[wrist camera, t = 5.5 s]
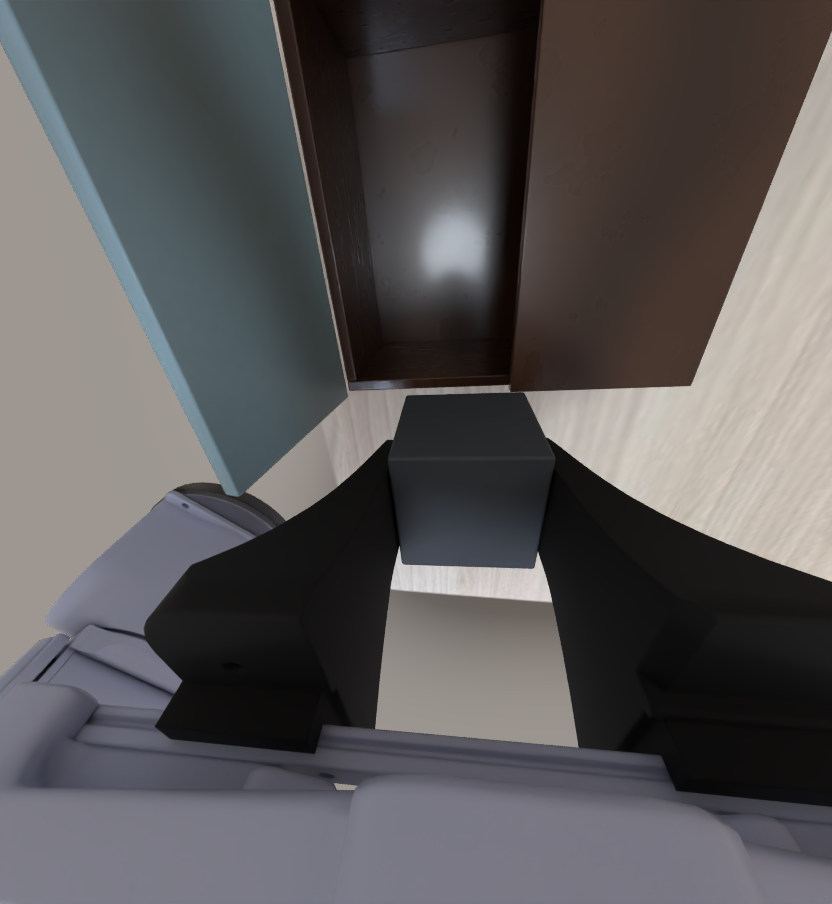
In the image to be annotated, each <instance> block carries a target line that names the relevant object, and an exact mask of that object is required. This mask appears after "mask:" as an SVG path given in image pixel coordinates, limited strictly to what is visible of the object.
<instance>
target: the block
mask: <svg viewBox="0 0 832 904" xmlns="http://www.w3.org/2000/svg"><path fill="white" fill-rule="evenodd" d="M554 464H555V456H554V454H553V452H552V450H551V448H550V445H549V443H548V441H547V439H546V437H545V435H544V433H543V431H542V429H541V427H540V425H539V423H538V421H537V418H536V416H535V414H534V412H533V410H532V408H531V406H530V404H529V402H528V400H527V398H526V396H525V394H524V393H523V392H517V393H481V394H445V395H410V396H406V399H405V403H404V406H403V409H402V413H401V416H400V420H399V423H398V426H397V430H396V433H395V437H394V440H393V443H392V447H391V450H390V454H389V457H388V466H389V473H390V480H391V487H392V495H393V502H394V509H395V516H396V523H397V531H398V538H399V545H400V552H401V559H402V563H403V564H405V565H433V566H465V567H496V568H528V569H532V568H534V567H535V562H536V557H537V552H538V547H539V542H540V536H541V531H542V526H543V521H544V516H545V511H546V505H547V500H548V495H549V490H550V485H551V480H552V475H553V469H554Z"/></svg>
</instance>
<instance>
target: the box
mask: <svg viewBox="0 0 832 904" xmlns="http://www.w3.org/2000/svg"><path fill="white" fill-rule="evenodd" d="M273 1H274V6H275V11H276V16H277V21H278V26H279V31H280V37H281V42H282V47H283V52H284V57H285V62H286V67H287V73H288V78H289V83H290V88H291V93H292V98H293V103H294V109H295V114H296V119H297V124H298V129H299V134H300V139H301V145H302V150H303V155H304V160H305V165H306V170H307V175H308V181H309V186H310V191H311V196H312V201H313V206H314V211H315V217H316V222H317V227H318V232H319V237H320V242H321V247H322V253H323V258H324V263H325V268H326V273H327V278H328V284H329V289H330V294H331V299H332V304H333V309H334V314H335V320H336V325H337V330H338V335H339V340H340V345H341V350H342V356H343V361H344V366H345V371H346V376H347V380H348V386H349V390H350V391H355V390H383V389H410V388H437V387H465V386H492V385H509V390H510V392H526V391H555V390H585V389H614V388H644V387H673V386H691V384H692V382H693V379H694V377H695V374H696V372H697V369H698V367H699V364H700V362H701V359H702V357H703V354H704V352H705V349H706V346H707V344H708V341H709V339H710V336H711V334H712V331H713V329H714V326H715V324H716V321H717V319H718V316H719V314H720V311H721V309H722V306H723V304H724V301H725V299H726V296H727V294H728V291H729V289H730V286H731V283H732V281H733V278H734V276H735V273H736V271H737V268H738V266H739V263H740V261H741V258H742V256H743V253H744V251H745V248H746V246H747V243H748V241H749V238H750V236H751V233H752V231H753V228H754V226H755V223H756V220H757V218H758V215H759V213H760V210H761V208H762V205H763V203H764V200H765V198H766V195H767V193H768V190H769V188H770V185H771V183H772V180H773V178H774V175H775V173H776V170H777V168H778V165H779V163H780V160H781V157H782V155H783V152H784V150H785V147H786V145H787V142H788V140H789V137H790V135H791V132H792V130H793V127H794V125H795V122H796V120H797V117H798V115H799V112H800V110H801V107H802V105H803V102H804V100H805V97H806V94H807V92H808V89H809V87H810V84H811V82H812V79H813V77H814V74H815V72H816V69H817V67H818V64H819V62H820V59H821V57H822V54H823V52H824V49H825V47H826V44H827V42H828V39H829V36H830V34H831V31H832V0H273Z"/></svg>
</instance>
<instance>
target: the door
mask: <svg viewBox="0 0 832 904" xmlns="http://www.w3.org/2000/svg"><path fill="white" fill-rule="evenodd" d="M0 42H1V45H2V47H3V49H4V51H5V53H6V55H7V57H8V59H9V61H10V62H11V65H12V66H13V69H14V71H15V73H16V75H17V77H18V79H19V81H20V83H21V85H22V87H23V89H24V90H25V93H26V95H27V97H28V99H29V101H30V103H31V104H32V107H33V109H34V111H35V113H36V115H37V117H38V119H39V121H40V123H41V125H42V127H43V129H44V130H45V133H46V135H47V136H48V139H49V141H50V143H51V145H52V147H53V149H54V151H55V153H56V155H57V157H58V158H59V161H60V163H61V165H62V167H63V169H64V171H65V173H66V175H67V177H68V179H69V181H70V183H71V185H72V187H73V189H74V191H75V193H76V195H77V197H78V199H79V201H80V203H81V205H82V207H83V209H84V211H85V213H86V215H87V217H88V219H89V221H90V223H91V225H92V227H93V229H94V231H95V233H96V235H97V237H98V239H99V241H100V243H101V245H102V247H103V249H104V251H105V253H106V255H107V257H108V259H109V261H110V263H111V265H112V267H113V269H114V271H115V273H116V275H117V277H118V279H119V281H120V283H121V285H122V287H123V289H124V291H125V293H126V295H127V297H128V299H129V301H130V303H131V305H132V307H133V309H134V311H135V313H136V315H137V317H138V319H139V321H140V323H141V325H142V327H143V329H144V331H145V333H146V335H147V337H148V339H149V341H150V343H151V345H152V347H153V349H154V351H155V353H156V355H157V357H158V359H159V361H160V363H161V365H162V367H163V369H164V371H165V373H166V375H167V377H168V379H169V381H170V383H171V385H172V387H173V389H174V391H175V393H176V395H177V397H178V399H179V401H180V403H181V405H182V407H183V409H184V411H185V413H186V415H187V417H188V419H189V421H190V423H191V425H192V427H193V429H194V431H195V433H196V435H197V437H198V439H199V441H200V443H201V445H202V447H203V449H204V451H205V453H206V455H207V457H208V459H209V461H210V463H211V465H212V467H213V469H214V471H215V473H216V475H217V477H218V479H219V481H220V483H221V485H222V487H223V489H224V491H225V493H226V494H227V495H230V496H237V497H239V496H241V495H242V494H243V493H244V492H245V491H246V490H247V489H249V488H250V487H251V486H252V485H253V484H254V483H255V482H256V481H257V480H258V479H259V478H260V477H262V476H263V475H264V474H265V473H266V472H267V471H268V470H269V469H270V468H271V467H272V466H273V465H274V464H275V463H277V462H278V461H279V460H280V459H281V458H282V457H283V456H284V455H285V454H286V453H287V452H289V451H290V450H291V449H292V448H293V447H294V446H295V445H296V444H297V443H298V442H299V441H300V440H302V439H303V438H304V437H305V436H306V435H307V434H308V433H309V432H310V431H311V430H313V429H314V428H315V427H316V426H317V425H318V424H319V423H320V422H321V421H322V420H323V419H324V418H326V417H327V416H328V415H329V414H330V413H331V412H332V411H333V410H334V409H335V408H336V407H337V406H339V405H340V404H341V403H342V402H343V401H344V400H345V399H346V398H347V397H348V395H347V390H346V385H345V380H344V375H343V370H342V365H341V360H340V355H339V349H338V344H337V339H336V334H335V329H334V324H333V319H332V314H331V309H330V304H329V299H328V294H327V289H326V284H325V279H324V274H323V269H322V264H321V259H320V254H319V249H318V244H317V239H316V234H315V229H314V224H313V219H312V214H311V209H310V204H309V199H308V194H307V189H306V184H305V179H304V174H303V169H302V164H301V159H300V153H299V148H298V143H297V138H296V133H295V128H294V123H293V118H292V113H291V108H290V103H289V98H288V93H287V88H286V83H285V78H284V73H283V68H282V63H281V58H280V53H279V48H278V43H277V38H276V33H275V28H274V23H273V18H272V13H271V8H270V3H269V0H0Z"/></svg>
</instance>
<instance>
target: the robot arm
mask: <svg viewBox="0 0 832 904" xmlns="http://www.w3.org/2000/svg"><path fill="white" fill-rule="evenodd" d="M546 439H547V441H548V443H549V445H550V448H551V450H552V452H553V454H554V456H555V464H554V469H553V475H552V480H551V485H550V490H549V495H548V500H547V505H546V511H545V516H544V521H543V526H542V531H541V536H540V542H539V547H538V553H539V556H540V559H541V562H542V565H543V568H544V571H545V574H546V578H547V581H548V585H549V588H550V593H551V598H552V602H553V607H554V611H555V616H556V621H557V626H558V631H559V636H560V641H561V646H562V651H563V657H564V662H565V668H566V673H567V679H568V684H569V689H570V696H571V702H572V708H573V714H574V720H575V727H576V733H577V739H578V746H579V748H576V747H565V746H555V745H554V746H553V745H543V744H532V743H522V742H510V741H500V740H488V739H478V738H467V737H456V736H444V735H434V734H423V733H412V732H411V733H410V732H401V731H390V730H379V729H375V724H376V712H377V702H378V691H379V681H380V670H381V662H382V652H383V644H384V634H385V627H386V618H387V610H388V603H389V595H390V587H391V581H392V575H393V570H394V566H395V562H396V557H397V553H398V549H399V538H398V531H397V523H396V516H395V509H394V502H393V495H392V487H391V480H390V473H389V466H388V457H389V454H390V450H391V447H392V443H393V440H386V441H385V442H384V443H383V444H382V445H381V446H380V447H379V448H378V449H377V450H376V451H375V453H374V454H373V455H372V456H371V457H370V458H369V459H368V460H367V461H366V462H365V463H364V464H363V465H362V466H360V467H359V468H358V469H357V470H356V471H355V472H354V473H353V474H352V475H351V476H350V477H348V478H347V479H346V480H345V481H344V482H343V483H342V484H340V485H339V486H338V487H337V488H336V489H334V490H333V491H332V492H330V493H329V494H328V495H326V496H325V497H324V498H322V499H321V500H319V501H318V502H317V503H315V504H314V505H312V506H311V507H309V508H308V509H306V510H304V511H303V512H301V513H299V514H298V515H296V516H294V517H293V518H291V519H289V520H288V521H286V522H284V523H283V524H281V525H279V526H277V527H275V528H273V529H271V530H269V531H267V532H265V533H264V534H261V535H259V536H255V535H254V534H252V533H250V532H248V531H247V530H245V529H243V528H241V527H239V526H238V525H236V524H234V523H232V522H230V521H229V520H227V519H225V518H223V517H222V516H220V515H218V514H216V513H214V512H213V511H211V510H209V509H207V508H206V507H204V506H202V505H200V504H198V503H197V502H195V501H193V500H191V499H190V498H188V497H186V496H184V495H182V494H181V493H179V492H177V491H170V492H169V493H167V494H166V496H165V498H164V500H162V501H161V502H160V503H159V504H158V505H157V506H156V507H155V508H153V509H152V510H151V511H150V512H149V513H148V514H147V515H146V516H144V517H143V518H142V519H141V520H140V521H139V522H138V523H137V524H136V525H134V526H133V527H132V528H131V529H130V530H129V531H128V532H127V533H125V534H124V535H123V536H122V537H121V538H120V539H119V540H118V541H117V542H115V543H114V544H113V545H112V546H111V547H110V548H109V549H107V550H106V551H105V552H104V553H103V554H102V555H101V556H100V557H99V558H97V559H96V560H95V561H94V562H93V563H92V564H91V565H90V566H89V567H88V568H87V569H86V570H85V571H84V572H83V573H82V574H81V575H80V576H79V577H78V578H77V579H76V580H75V581H74V582H73V583H72V584H71V586H70V587H69V588H68V589H67V590H66V591H65V592H64V593H63V594H62V596H61V597H60V598H59V599H58V600H57V602H56V603H55V604H54V606H53V607H52V608H51V610H50V611H49V613H48V615H47V617H46V619H45V622H46V624H47V625H49V626H50V627H52V628H54V629H57V630H59V631H61V632H63V633H65V634H66V635H65V634H57V635H56V636H54V637H50V638H46V639H42V640H39V641H38V642H37V643H36V644H35V645H33V646H32V647H31V648H30V649H29V650H28V651H27V652H26V653H25V654H24V655H23V656H21V657H20V658H19V659H18V660H17V661H16V662H15V663H14V664H13V665H12V666H11V667H10V668H9V669H8V670H7V671H6V672H4V673H3V674H2V675H1V676H0V904H832V582H831V581H828V580H825V579H822V578H819V577H816V576H813V575H810V574H808V573H805V572H802V571H799V570H796V569H793V568H790V567H787V566H784V565H781V564H778V563H775V562H773V561H770V560H767V559H764V558H762V557H759V556H757V555H754V554H752V553H749V552H747V551H744V550H741V549H739V548H736V547H734V546H731V545H729V544H726V543H724V542H722V541H719V540H717V539H715V538H712V537H710V536H708V535H705V534H703V533H701V532H699V531H696V530H694V529H692V528H690V527H688V526H686V525H684V524H681V523H679V522H677V521H675V520H673V519H671V518H669V517H667V516H665V515H663V514H661V513H659V512H657V511H655V510H654V509H652V508H650V507H648V506H646V505H645V504H643V503H641V502H639V501H637V500H636V499H634V498H632V497H630V496H629V495H627V494H625V493H624V492H622V491H621V490H619V489H617V488H616V487H614V486H613V485H611V484H610V483H608V482H607V481H605V480H604V479H602V478H601V477H599V476H598V475H597V474H595V473H594V472H592V471H591V470H590V469H588V468H587V467H586V466H584V465H583V464H581V463H580V462H579V461H578V460H576V459H575V458H574V457H572V456H571V455H570V454H568V453H567V452H566V451H565V450H563V449H562V448H561V447H560V446H558V445H557V444H556V443H554V442H553V441H552V440H550V439H549V438H546ZM67 635H68V636H67ZM70 637H71V639H70ZM69 639H70V640H69ZM334 783H339V784H348V785H357V787H356V788H355V790H336V787H335V785H334Z"/></svg>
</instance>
